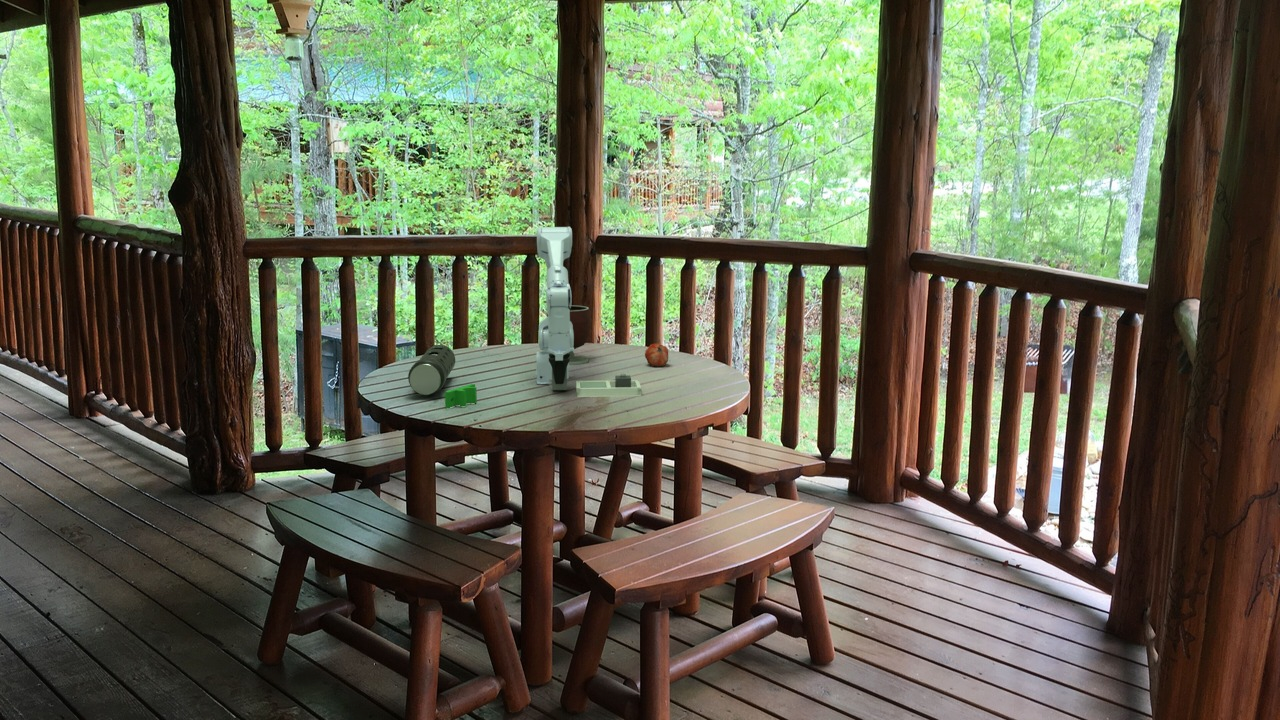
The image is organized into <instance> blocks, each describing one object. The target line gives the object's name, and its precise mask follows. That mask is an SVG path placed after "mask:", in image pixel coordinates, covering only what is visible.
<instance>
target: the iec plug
mask: <svg viewBox="0 0 1280 720" xmlns="http://www.w3.org/2000/svg"><path fill="white" fill-rule="evenodd" d="M551 390H552V391H567V390H568V379H567V368H566V372H565V379H564V383H563V384H556V383H555V380H554V374H553V369H552V380H551Z"/></svg>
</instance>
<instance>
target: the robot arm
mask: <svg viewBox="0 0 1280 720" xmlns="http://www.w3.org/2000/svg"><path fill="white" fill-rule="evenodd" d="M536 247H537V251H536V252H537V254H538V258H540V259H542V260H544V263H545V266H546V286H547V289H546V291H545V301H546V303H545V305H546V310H547V313H548V317H547V316H546V317H545V318H544V319H542V320H541V321H540V322H539V324H538V349H539V351H536V370H535V378H536V385H550V381H552V369H553V374H554V380H555V383H556V384H563V383H564V379H565V372H566V368H567V380H569V379H570V365H569V361H570V359H569V356H570V353H569V352H570V351H573V352H574V351H575V349H574V348H573V346H574V334H573V325H572V323H571V322H570V309H569V308H568V305H569V306H570V308H571V305H572V297H573V296H572V289H571V286H570V283H569V271H568V269H567V268H566V267H565V266H564V261H565V260H566V259H569V258H570V257H571V253H572V247H573V230H572V228H571V226H538V227H537V229H536Z"/></svg>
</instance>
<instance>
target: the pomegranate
mask: <svg viewBox="0 0 1280 720" xmlns="http://www.w3.org/2000/svg"><path fill="white" fill-rule="evenodd" d="M644 352H645V353H644V357H645V359H646V361H647V363H648V365H650V366H651V367H663V366H665V365H667V364H668V362H669V350H668V347H667V346H666V345H662V344H660V343H658V342H657V343H656V342H655V343H651V344H650V345H649V346H648V347H647V348H646V350H645V351H644Z"/></svg>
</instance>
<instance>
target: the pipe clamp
mask: <svg viewBox="0 0 1280 720" xmlns="http://www.w3.org/2000/svg"><path fill="white" fill-rule="evenodd" d="M477 398H478V397H477V387H476V384H475V383H470V384H466V385H463V386H460V387H457V388H453V389H450V390H447V391H444V402H445V403H444V404H445V405H444V406H445V408H450V407H452V406H455V405H460V406H466V407H467V405H466V403H477V401H478V399H477Z"/></svg>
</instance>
